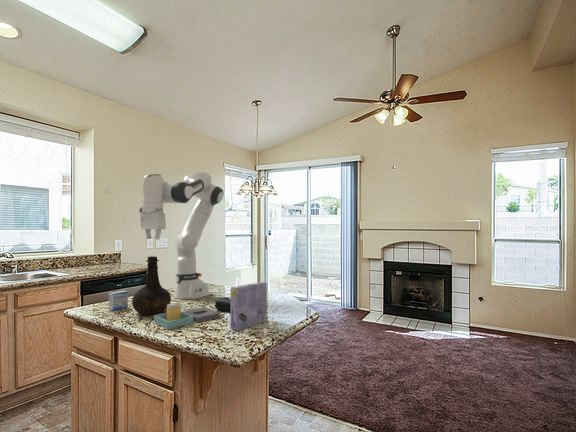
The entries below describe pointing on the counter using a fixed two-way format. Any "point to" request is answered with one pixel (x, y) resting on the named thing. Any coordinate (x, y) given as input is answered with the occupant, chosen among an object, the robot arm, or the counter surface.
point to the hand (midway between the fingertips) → (152, 239)
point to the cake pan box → (248, 305)
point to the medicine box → (118, 300)
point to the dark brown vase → (151, 292)
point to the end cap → (223, 304)
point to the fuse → (173, 311)
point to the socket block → (202, 314)
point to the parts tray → (162, 320)
